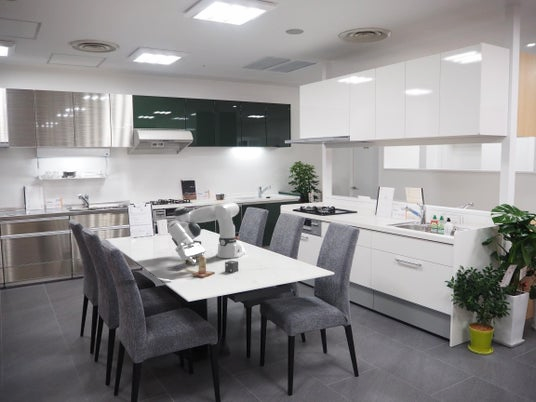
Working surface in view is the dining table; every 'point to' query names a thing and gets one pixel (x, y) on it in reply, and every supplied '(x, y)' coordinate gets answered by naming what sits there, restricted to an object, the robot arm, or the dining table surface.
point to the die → (231, 266)
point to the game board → (191, 272)
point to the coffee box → (194, 257)
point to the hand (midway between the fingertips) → (199, 261)
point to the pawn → (202, 265)
